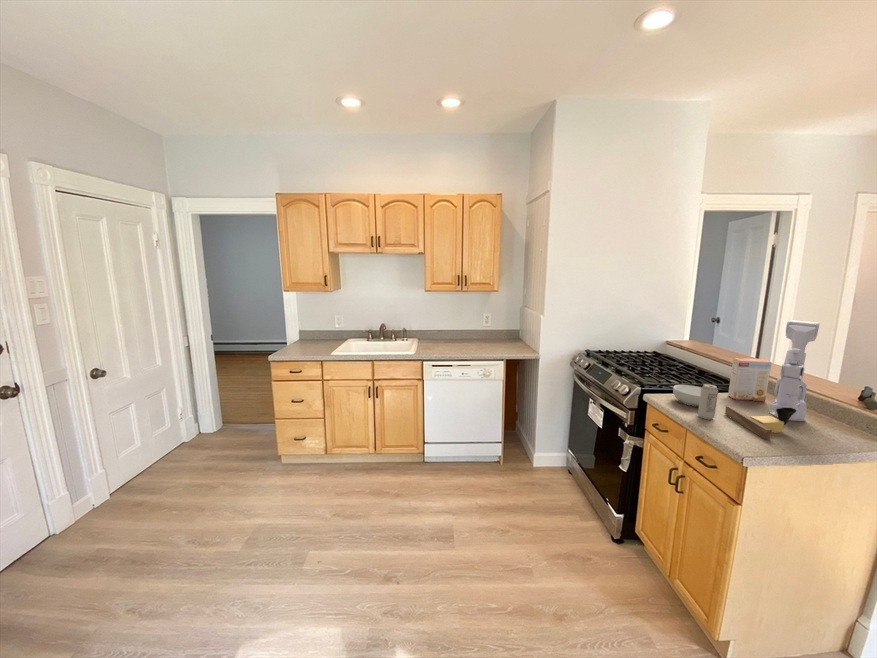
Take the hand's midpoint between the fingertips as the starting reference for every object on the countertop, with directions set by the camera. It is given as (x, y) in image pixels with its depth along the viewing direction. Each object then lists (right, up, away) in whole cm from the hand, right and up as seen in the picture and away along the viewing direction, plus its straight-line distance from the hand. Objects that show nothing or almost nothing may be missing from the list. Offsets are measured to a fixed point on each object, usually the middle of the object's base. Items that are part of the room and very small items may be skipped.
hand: (782, 423), depth 149 cm
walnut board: (-11, -2, +5) cm, 12 cm away
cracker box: (+15, +3, +35) cm, 39 cm away
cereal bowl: (-17, +2, +29) cm, 34 cm away
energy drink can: (-22, -1, +13) cm, 26 cm away
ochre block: (-5, -3, +2) cm, 6 cm away
